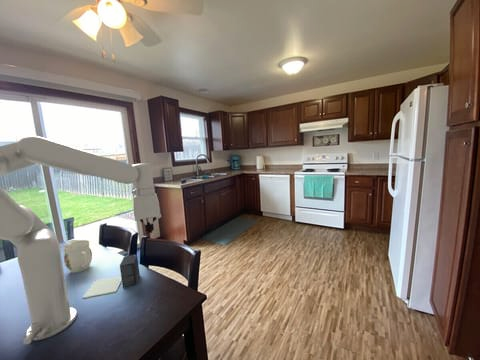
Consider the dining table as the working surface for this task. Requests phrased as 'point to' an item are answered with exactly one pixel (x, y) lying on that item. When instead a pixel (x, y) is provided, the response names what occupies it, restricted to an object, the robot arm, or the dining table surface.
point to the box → (129, 271)
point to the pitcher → (77, 255)
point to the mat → (103, 286)
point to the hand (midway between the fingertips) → (150, 231)
